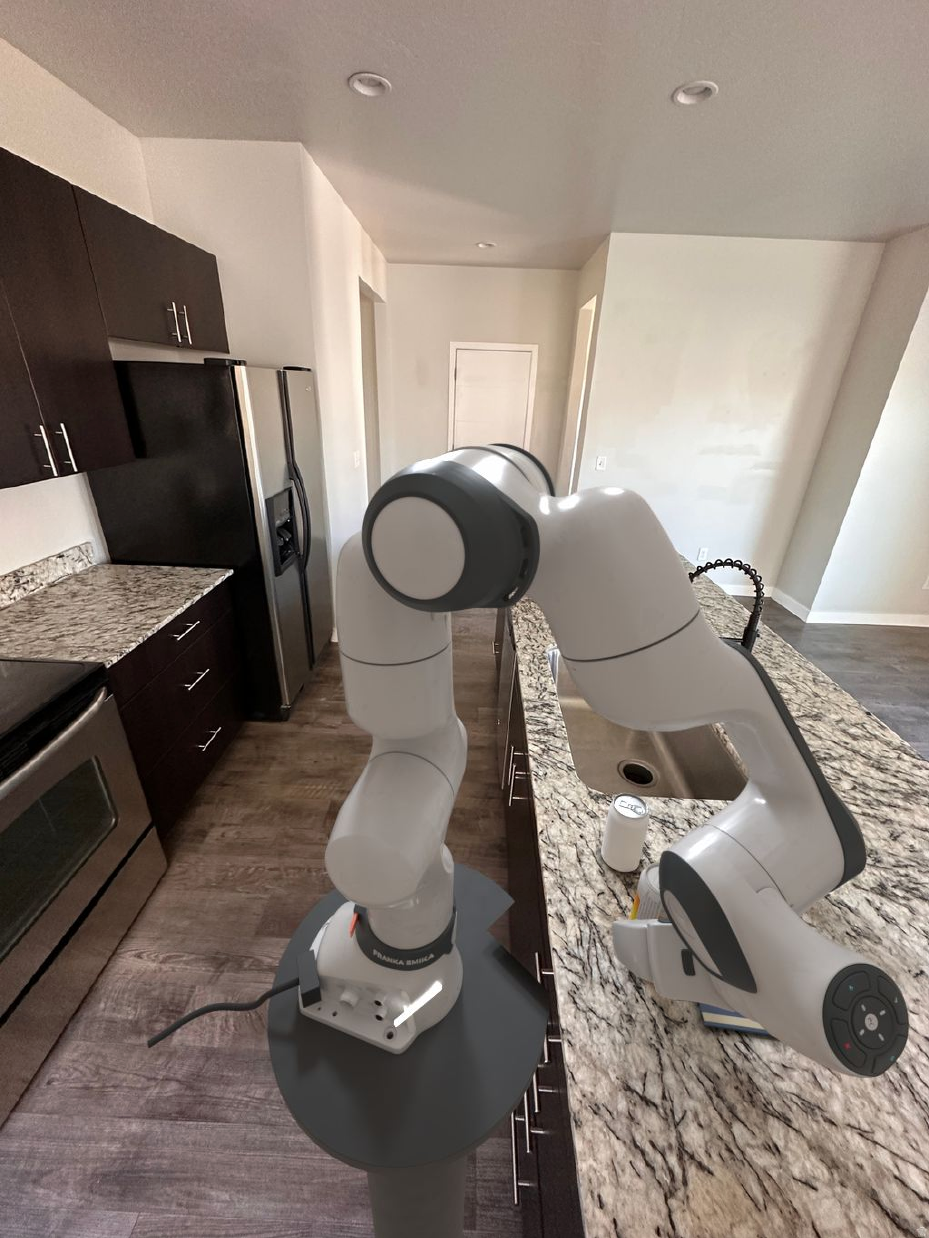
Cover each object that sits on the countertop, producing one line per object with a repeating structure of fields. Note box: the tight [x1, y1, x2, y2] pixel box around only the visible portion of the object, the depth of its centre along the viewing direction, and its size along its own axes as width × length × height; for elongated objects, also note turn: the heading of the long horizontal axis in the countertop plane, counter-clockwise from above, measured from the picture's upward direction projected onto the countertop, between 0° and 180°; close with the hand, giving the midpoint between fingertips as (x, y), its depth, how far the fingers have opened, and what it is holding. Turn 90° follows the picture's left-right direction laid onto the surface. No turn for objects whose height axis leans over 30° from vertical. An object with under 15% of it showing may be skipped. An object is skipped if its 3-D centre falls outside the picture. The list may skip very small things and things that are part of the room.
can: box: [600, 792, 651, 873], centre depth 82 cm, size 6×6×12 cm
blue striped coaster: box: [698, 1003, 773, 1037], centre depth 66 cm, size 11×11×1 cm
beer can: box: [629, 861, 668, 920], centre depth 67 cm, size 6×6×15 cm
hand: (675, 925), depth 61 cm, fingers open, 8 cm apart
